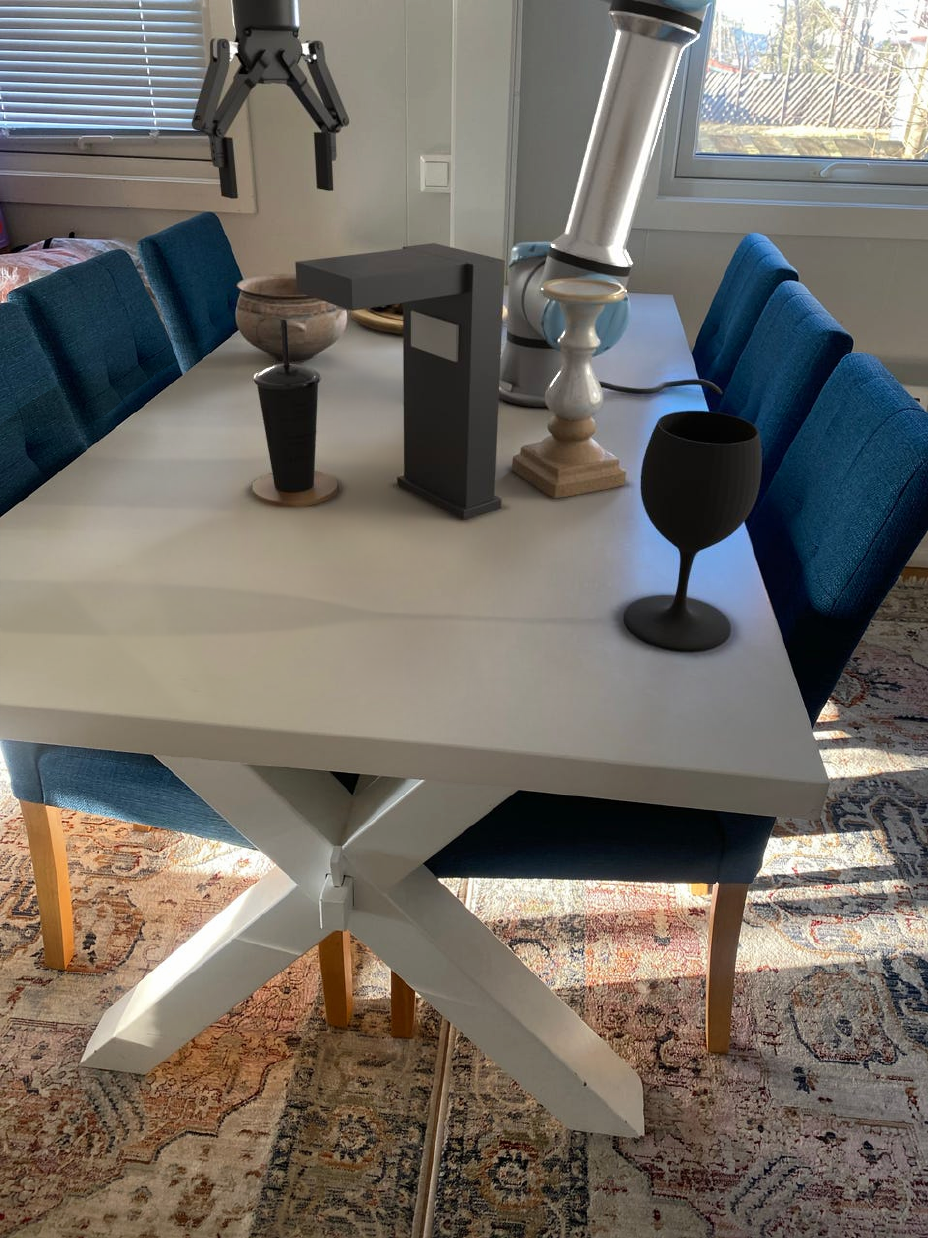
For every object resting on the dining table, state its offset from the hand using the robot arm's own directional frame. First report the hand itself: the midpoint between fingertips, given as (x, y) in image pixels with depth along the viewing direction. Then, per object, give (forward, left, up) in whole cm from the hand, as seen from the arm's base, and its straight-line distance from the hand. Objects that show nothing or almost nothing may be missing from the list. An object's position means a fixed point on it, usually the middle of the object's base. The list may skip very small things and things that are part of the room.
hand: (278, 193), depth 121 cm
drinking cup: (-3, +19, -31) cm, 37 cm away
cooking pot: (+6, -40, -32) cm, 51 cm away
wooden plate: (-17, -70, -32) cm, 79 cm away
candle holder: (-37, +13, -32) cm, 51 cm away
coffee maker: (-16, +25, -31) cm, 43 cm away
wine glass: (-44, +50, -32) cm, 74 cm away
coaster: (-3, +19, -31) cm, 37 cm away
